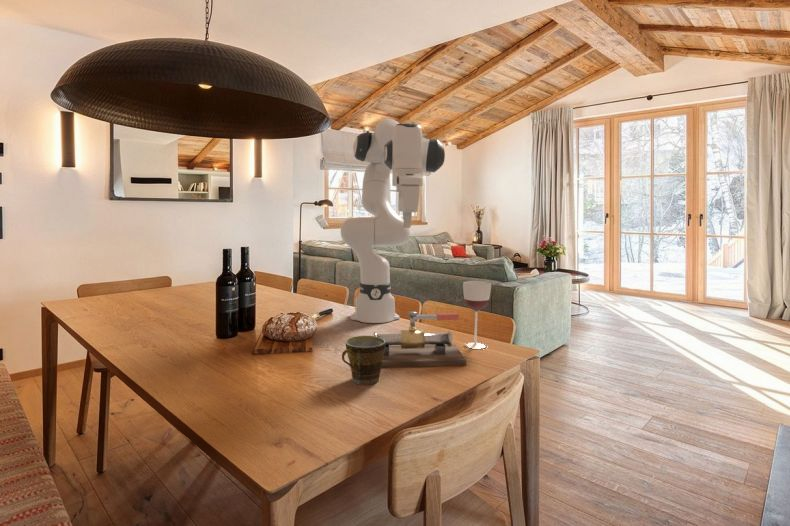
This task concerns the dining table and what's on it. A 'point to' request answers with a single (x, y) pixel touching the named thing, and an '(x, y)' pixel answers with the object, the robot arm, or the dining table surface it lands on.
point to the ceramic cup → (365, 358)
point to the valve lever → (432, 316)
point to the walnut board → (423, 357)
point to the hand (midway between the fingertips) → (407, 227)
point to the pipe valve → (417, 340)
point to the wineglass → (476, 302)
